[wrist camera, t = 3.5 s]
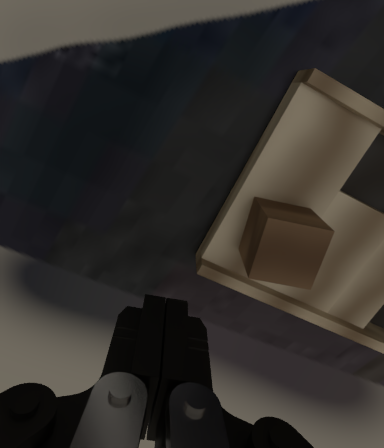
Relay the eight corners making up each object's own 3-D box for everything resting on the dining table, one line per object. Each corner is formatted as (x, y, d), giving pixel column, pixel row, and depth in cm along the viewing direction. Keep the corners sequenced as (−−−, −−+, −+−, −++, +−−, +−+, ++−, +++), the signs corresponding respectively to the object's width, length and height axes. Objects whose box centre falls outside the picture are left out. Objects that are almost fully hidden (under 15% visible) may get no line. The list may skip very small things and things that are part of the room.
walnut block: (254, 196, 23) (267, 217, 19) (310, 208, 23) (334, 231, 19) (238, 249, 24) (248, 278, 20) (291, 259, 24) (310, 289, 21)
